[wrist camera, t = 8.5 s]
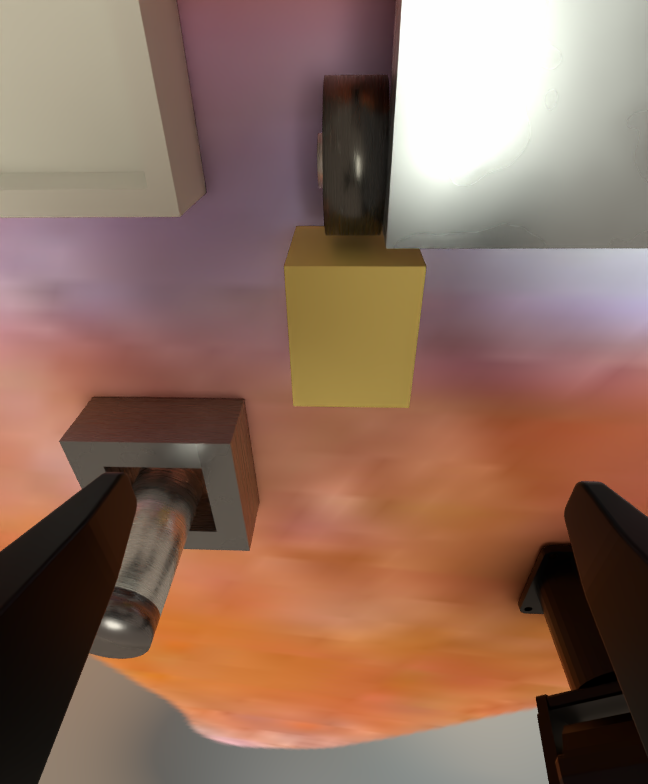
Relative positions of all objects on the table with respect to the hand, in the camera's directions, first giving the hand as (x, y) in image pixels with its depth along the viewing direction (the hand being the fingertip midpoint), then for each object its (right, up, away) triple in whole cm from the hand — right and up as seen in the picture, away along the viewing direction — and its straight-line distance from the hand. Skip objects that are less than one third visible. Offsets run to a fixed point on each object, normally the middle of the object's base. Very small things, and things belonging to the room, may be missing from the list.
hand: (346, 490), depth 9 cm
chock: (+1, +6, +8) cm, 10 cm away
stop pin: (-7, -1, +14) cm, 16 cm away
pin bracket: (-7, -1, +14) cm, 16 cm away
